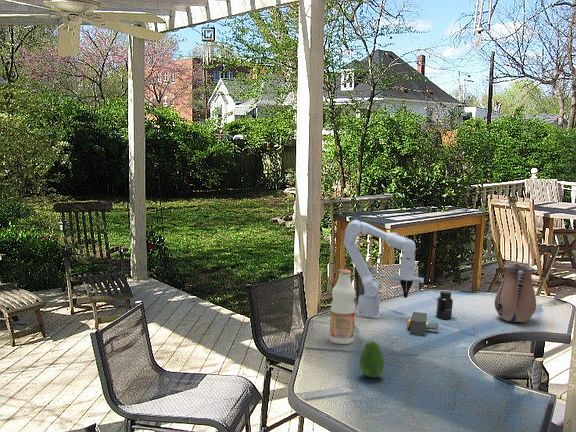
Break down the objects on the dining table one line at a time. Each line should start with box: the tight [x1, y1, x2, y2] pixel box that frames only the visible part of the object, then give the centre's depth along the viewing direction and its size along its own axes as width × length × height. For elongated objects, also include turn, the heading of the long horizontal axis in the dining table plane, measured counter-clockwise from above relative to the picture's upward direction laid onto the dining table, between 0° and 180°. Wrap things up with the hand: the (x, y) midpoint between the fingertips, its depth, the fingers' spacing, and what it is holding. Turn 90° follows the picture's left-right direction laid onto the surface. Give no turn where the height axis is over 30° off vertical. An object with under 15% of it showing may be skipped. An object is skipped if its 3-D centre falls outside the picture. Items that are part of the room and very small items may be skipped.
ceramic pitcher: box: [494, 263, 537, 323], centre depth 268 cm, size 18×21×25 cm
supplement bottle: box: [435, 290, 454, 321], centre depth 270 cm, size 7×7×12 cm
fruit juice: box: [328, 268, 357, 345], centre depth 231 cm, size 9×9×28 cm
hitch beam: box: [409, 311, 428, 337], centre depth 250 cm, size 6×14×6 cm, turn 165°
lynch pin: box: [406, 318, 439, 331], centre depth 250 cm, size 12×4×4 cm, turn 75°
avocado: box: [359, 340, 385, 379], centre depth 196 cm, size 8×8×12 cm
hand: (405, 297), depth 266 cm, fingers closed
